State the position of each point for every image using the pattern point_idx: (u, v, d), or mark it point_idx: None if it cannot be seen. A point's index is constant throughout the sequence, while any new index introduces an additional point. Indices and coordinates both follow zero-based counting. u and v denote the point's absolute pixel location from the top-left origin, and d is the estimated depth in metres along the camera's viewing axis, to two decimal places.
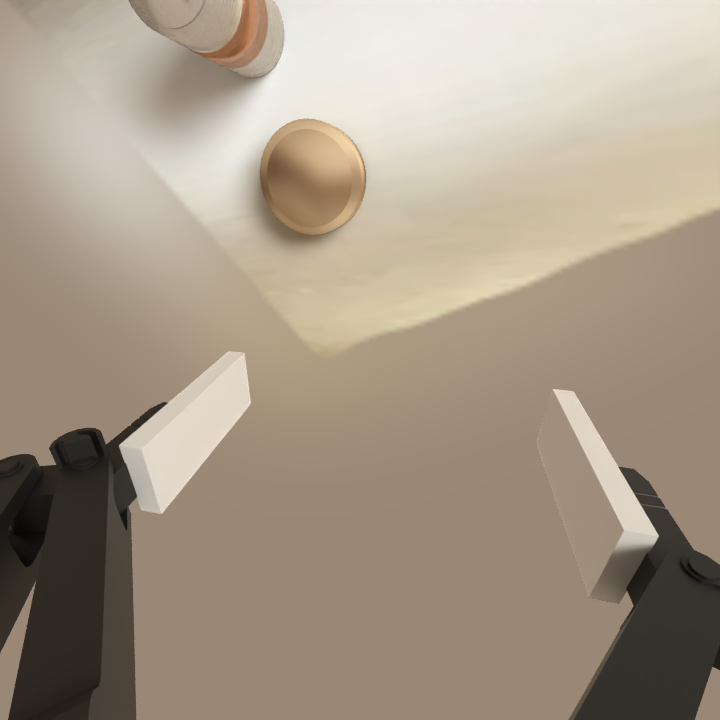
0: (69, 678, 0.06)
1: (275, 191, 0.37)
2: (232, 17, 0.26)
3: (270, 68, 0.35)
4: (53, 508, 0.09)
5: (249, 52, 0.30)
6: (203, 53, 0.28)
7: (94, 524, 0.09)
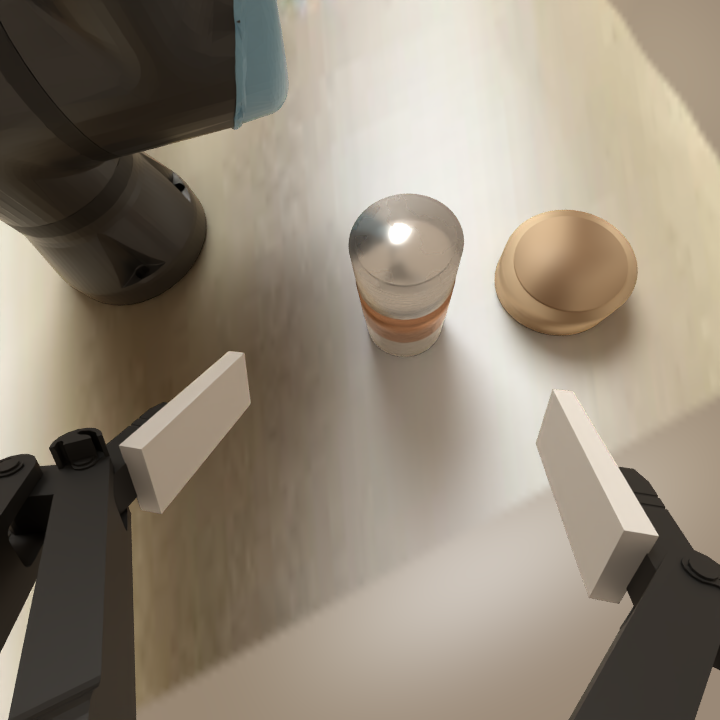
0: (69, 678, 0.06)
1: (580, 303, 0.28)
2: None
3: None
4: (53, 508, 0.09)
5: None
6: (453, 286, 0.25)
7: (94, 524, 0.09)
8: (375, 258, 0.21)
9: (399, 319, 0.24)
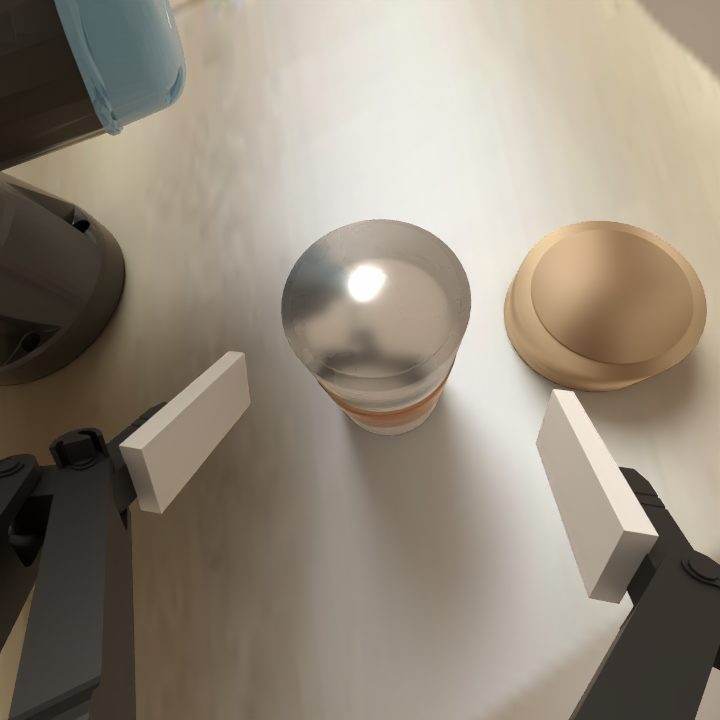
0: (69, 678, 0.06)
1: (633, 351, 0.20)
2: None
3: None
4: (53, 508, 0.09)
5: None
6: None
7: (94, 524, 0.09)
8: (325, 332, 0.12)
9: (377, 411, 0.16)
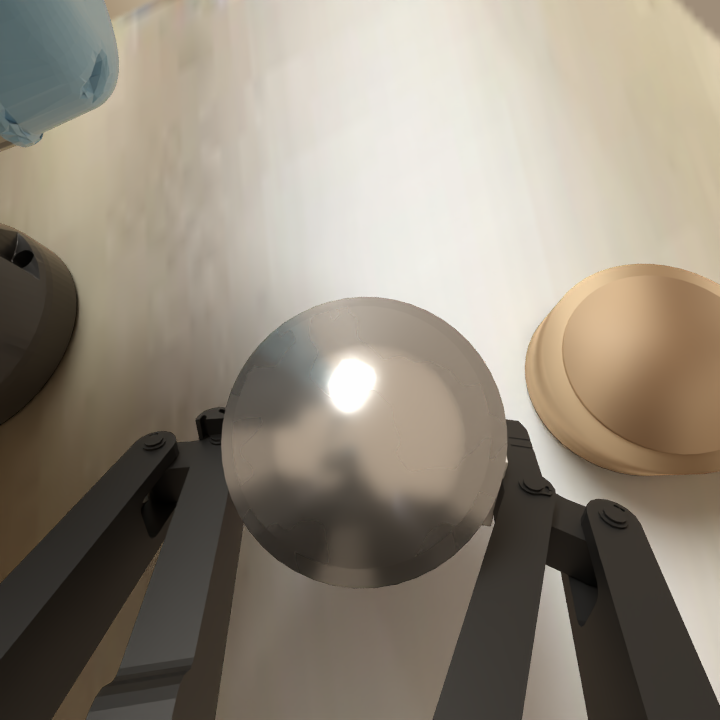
0: (169, 648, 0.07)
1: (698, 438, 0.16)
2: None
3: None
4: (189, 475, 0.10)
5: None
6: None
7: (216, 501, 0.09)
8: (282, 485, 0.08)
9: None
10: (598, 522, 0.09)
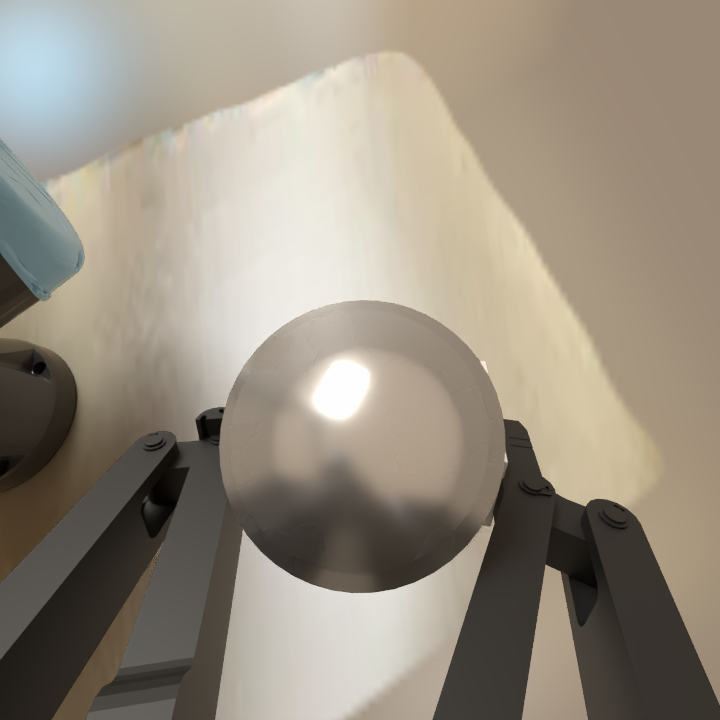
0: (169, 648, 0.07)
1: None
2: None
3: None
4: (189, 475, 0.10)
5: None
6: None
7: (215, 501, 0.09)
8: (280, 489, 0.08)
9: None
10: (598, 522, 0.09)
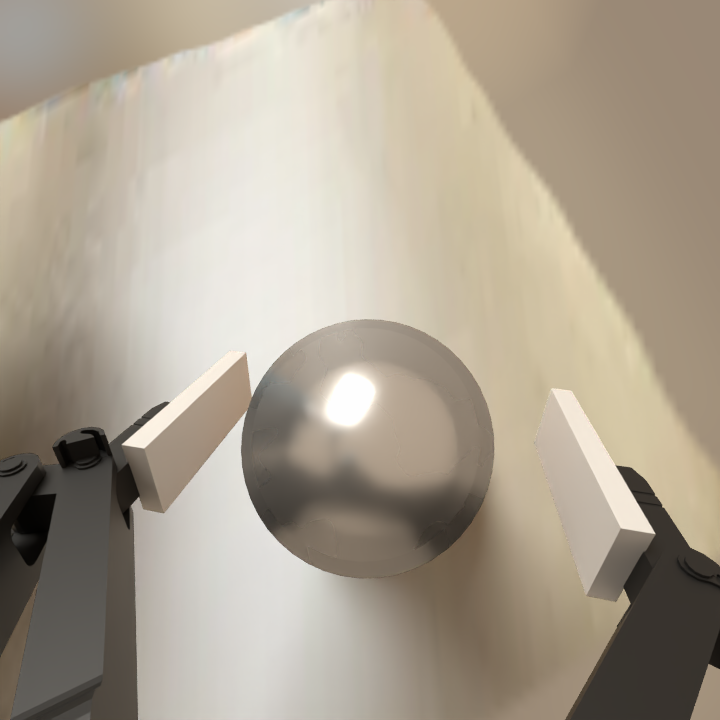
0: (71, 677, 0.06)
1: None
2: None
3: None
4: (56, 507, 0.09)
5: None
6: None
7: (97, 523, 0.09)
8: (296, 488, 0.09)
9: None
10: None
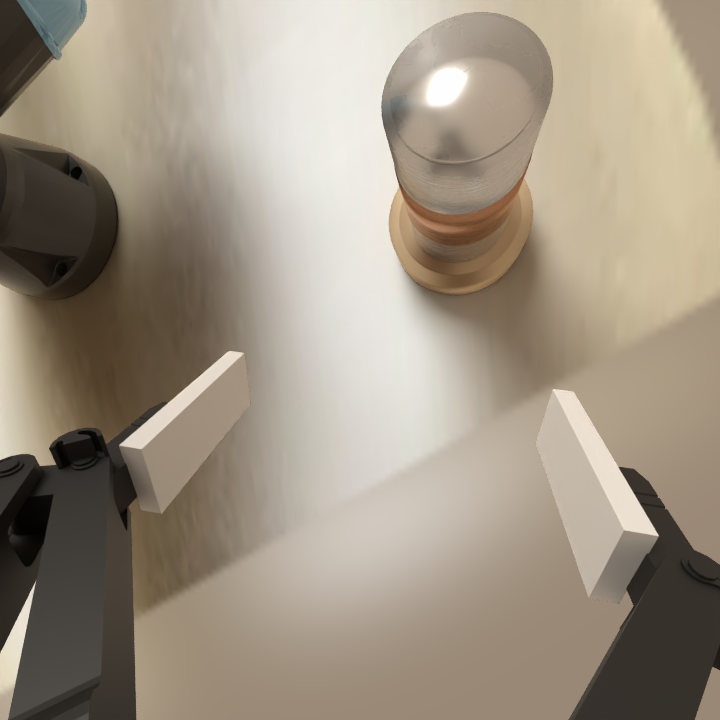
0: (69, 678, 0.06)
1: (465, 264, 0.26)
2: None
3: None
4: (53, 508, 0.09)
5: None
6: (530, 157, 0.18)
7: (94, 524, 0.09)
8: (421, 127, 0.15)
9: (457, 214, 0.18)
10: None
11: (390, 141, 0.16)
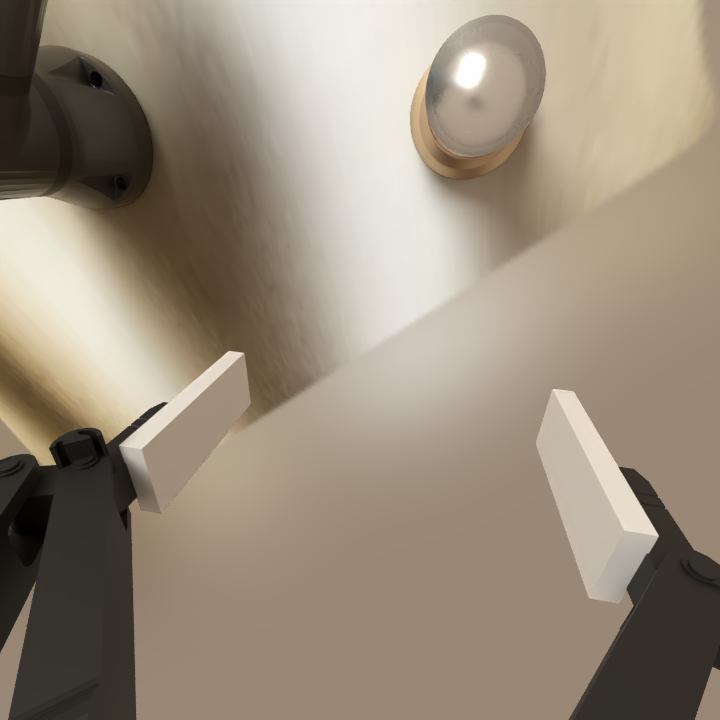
0: (69, 678, 0.06)
1: (474, 160, 0.33)
2: None
3: None
4: (53, 508, 0.09)
5: None
6: None
7: (94, 524, 0.09)
8: (454, 120, 0.22)
9: (473, 156, 0.26)
10: None
11: (432, 127, 0.23)
